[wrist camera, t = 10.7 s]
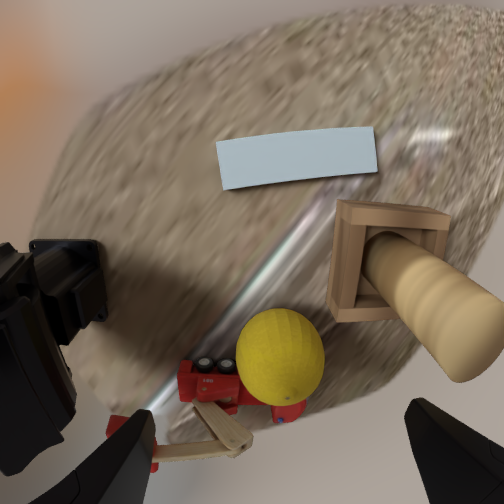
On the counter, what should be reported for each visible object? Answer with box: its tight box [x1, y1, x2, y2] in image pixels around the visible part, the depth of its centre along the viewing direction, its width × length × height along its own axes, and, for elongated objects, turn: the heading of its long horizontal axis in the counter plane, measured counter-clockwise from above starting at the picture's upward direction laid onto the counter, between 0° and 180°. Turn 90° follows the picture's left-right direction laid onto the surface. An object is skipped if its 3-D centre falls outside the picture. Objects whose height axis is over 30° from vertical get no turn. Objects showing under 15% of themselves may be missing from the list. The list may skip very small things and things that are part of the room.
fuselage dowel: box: [360, 231, 504, 383], centre depth 15 cm, size 4×4×11 cm
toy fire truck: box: [106, 357, 309, 473], centre depth 19 cm, size 3×14×10 cm, turn 87°
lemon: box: [236, 308, 325, 406], centre depth 19 cm, size 6×6×8 cm
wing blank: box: [216, 127, 377, 190], centre depth 18 cm, size 10×3×1 cm, turn 98°
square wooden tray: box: [326, 199, 451, 322], centre depth 20 cm, size 8×8×3 cm
